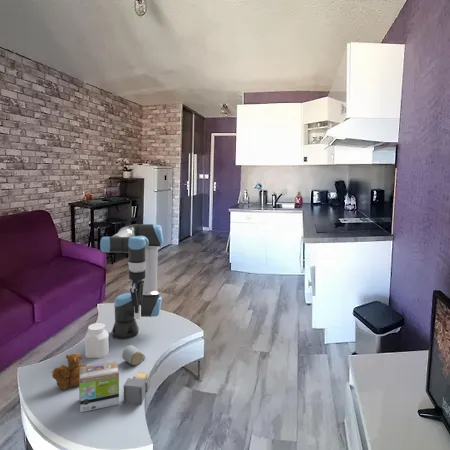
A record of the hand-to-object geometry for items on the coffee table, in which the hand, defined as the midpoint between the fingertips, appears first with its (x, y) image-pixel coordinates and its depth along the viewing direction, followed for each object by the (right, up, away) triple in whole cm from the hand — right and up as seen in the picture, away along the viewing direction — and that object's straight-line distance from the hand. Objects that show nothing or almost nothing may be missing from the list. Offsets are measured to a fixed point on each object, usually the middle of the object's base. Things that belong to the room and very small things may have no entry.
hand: (137, 318), depth 164 cm
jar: (-26, -23, +18) cm, 39 cm away
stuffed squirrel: (-28, -27, -8) cm, 40 cm away
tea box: (-11, -30, -19) cm, 37 cm away
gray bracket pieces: (+3, -29, -14) cm, 33 cm away
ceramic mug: (-4, -25, +12) cm, 28 cm away
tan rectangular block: (+4, -29, -13) cm, 32 cm away
